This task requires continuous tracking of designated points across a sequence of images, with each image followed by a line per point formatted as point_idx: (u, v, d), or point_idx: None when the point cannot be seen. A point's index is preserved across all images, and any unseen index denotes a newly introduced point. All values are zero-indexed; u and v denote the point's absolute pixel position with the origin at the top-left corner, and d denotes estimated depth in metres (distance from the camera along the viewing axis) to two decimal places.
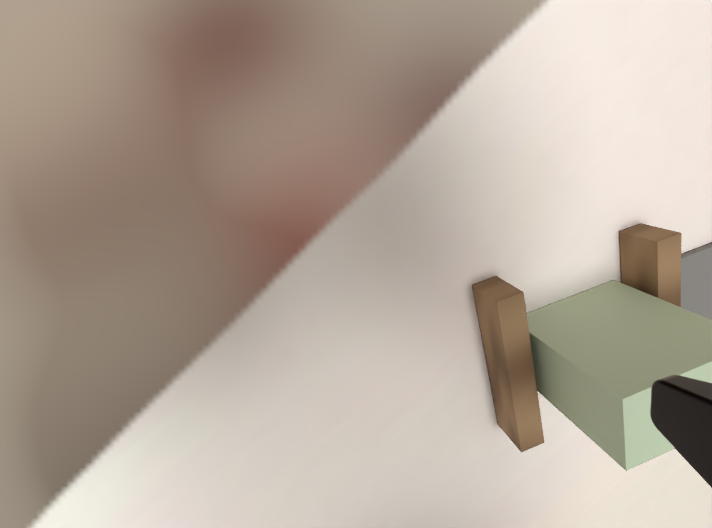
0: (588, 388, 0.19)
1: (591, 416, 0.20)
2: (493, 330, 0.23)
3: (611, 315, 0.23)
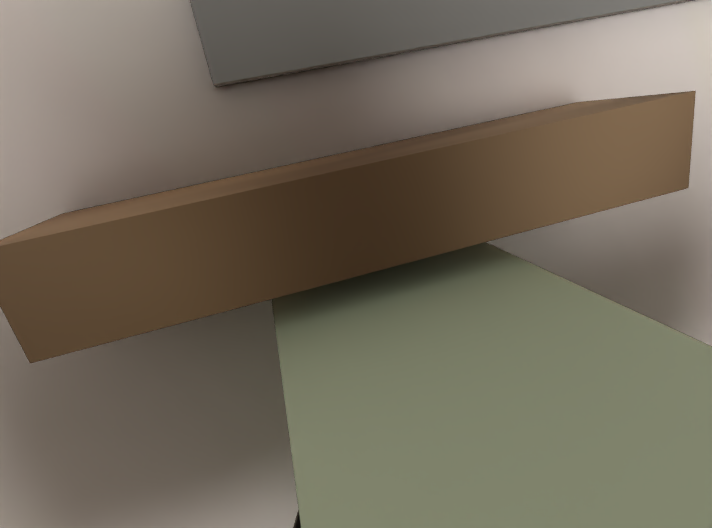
0: None
1: None
2: None
3: None
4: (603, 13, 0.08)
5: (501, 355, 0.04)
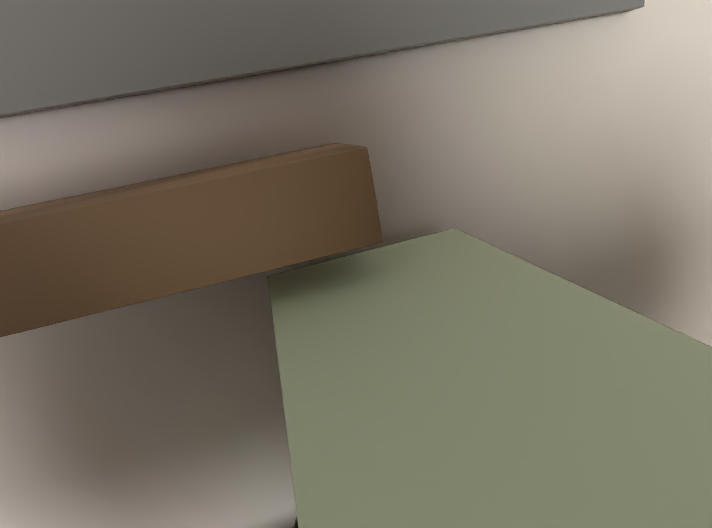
0: None
1: None
2: None
3: None
4: (336, 57, 0.08)
5: (499, 357, 0.04)
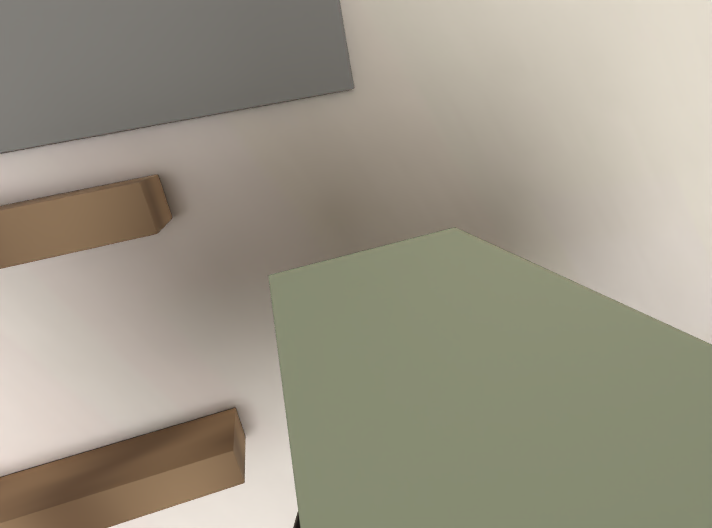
0: None
1: None
2: None
3: None
4: (147, 125, 0.13)
5: (500, 355, 0.04)
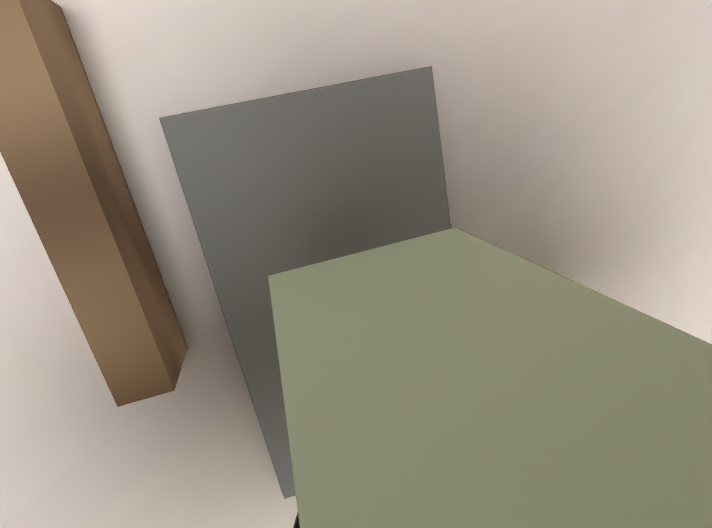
0: None
1: None
2: None
3: None
4: (234, 346, 0.14)
5: (501, 356, 0.04)
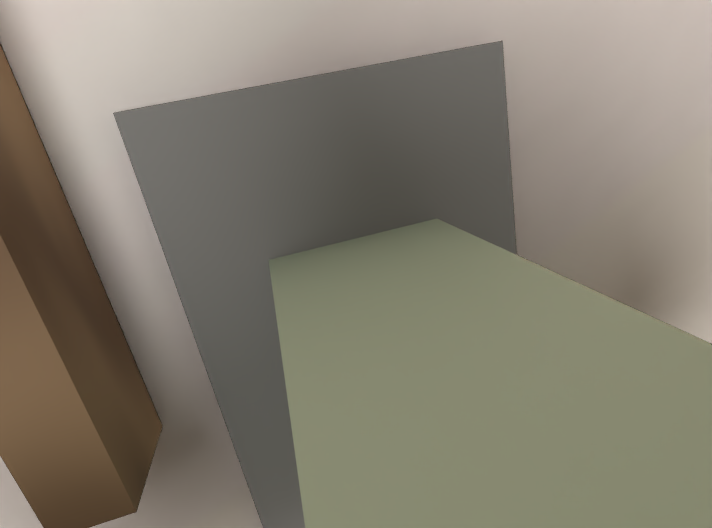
0: None
1: None
2: None
3: None
4: (226, 425, 0.10)
5: (458, 315, 0.05)
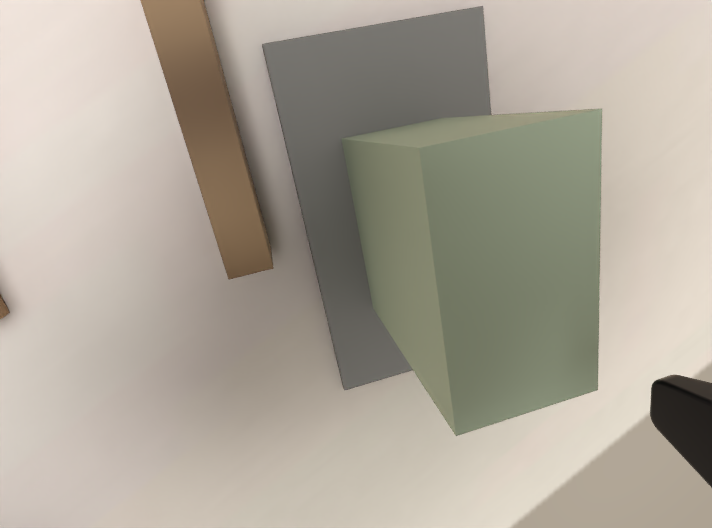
0: None
1: None
2: None
3: (375, 231, 0.14)
4: (311, 248, 0.17)
5: (452, 126, 0.12)
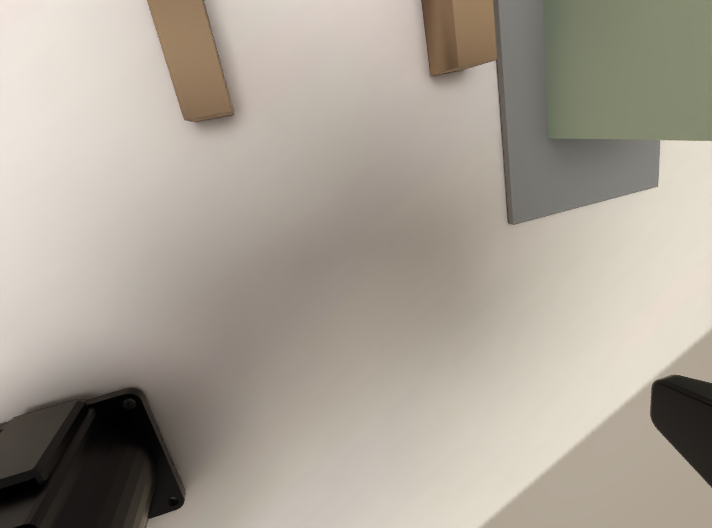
0: None
1: None
2: None
3: (599, 17, 0.15)
4: (503, 67, 0.17)
5: None
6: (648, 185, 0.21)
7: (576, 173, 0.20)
